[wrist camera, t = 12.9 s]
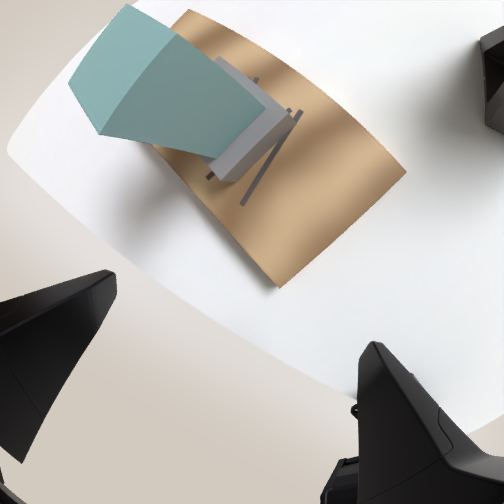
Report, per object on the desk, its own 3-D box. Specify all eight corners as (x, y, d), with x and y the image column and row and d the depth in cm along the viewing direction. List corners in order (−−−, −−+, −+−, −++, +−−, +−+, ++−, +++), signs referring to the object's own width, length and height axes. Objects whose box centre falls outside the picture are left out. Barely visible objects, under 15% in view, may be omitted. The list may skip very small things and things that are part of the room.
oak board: (402, 174, 17) (406, 172, 15) (284, 282, 21) (279, 288, 20) (196, 15, 19) (188, 8, 18) (123, 103, 24) (113, 100, 22)
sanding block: (297, 123, 17) (214, 30, 6) (236, 182, 19) (102, 171, 8) (233, 68, 18) (128, -13, 7) (182, 123, 20) (55, 86, 9)
